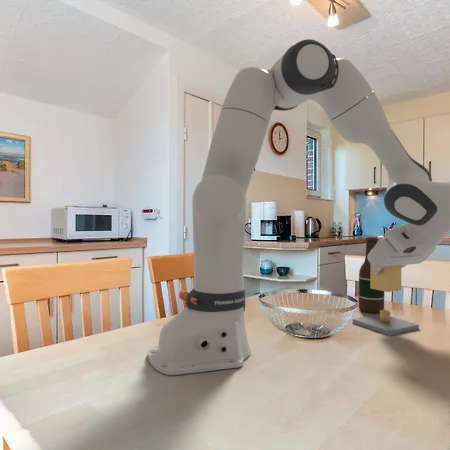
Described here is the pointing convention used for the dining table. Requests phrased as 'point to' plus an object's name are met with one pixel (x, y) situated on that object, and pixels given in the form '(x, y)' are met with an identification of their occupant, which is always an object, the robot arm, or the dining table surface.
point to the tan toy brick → (386, 279)
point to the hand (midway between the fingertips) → (383, 271)
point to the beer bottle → (369, 297)
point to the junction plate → (385, 323)
